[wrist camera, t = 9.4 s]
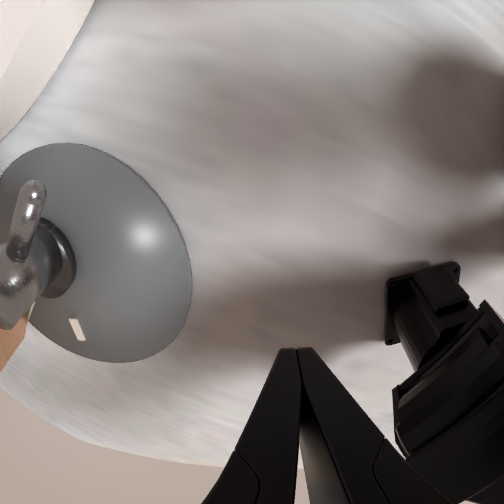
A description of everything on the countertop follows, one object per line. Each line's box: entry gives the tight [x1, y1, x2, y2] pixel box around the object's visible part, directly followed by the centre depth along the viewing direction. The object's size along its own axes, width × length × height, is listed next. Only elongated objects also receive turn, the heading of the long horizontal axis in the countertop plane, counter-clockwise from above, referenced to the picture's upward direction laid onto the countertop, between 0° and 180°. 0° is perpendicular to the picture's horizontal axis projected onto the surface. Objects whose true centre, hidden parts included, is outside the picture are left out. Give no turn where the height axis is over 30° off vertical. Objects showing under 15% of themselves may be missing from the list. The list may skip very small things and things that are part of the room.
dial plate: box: [0, 143, 192, 363], centre depth 20 cm, size 19×20×1 cm
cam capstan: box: [0, 180, 77, 372], centre depth 15 cm, size 19×6×10 cm, turn 142°
